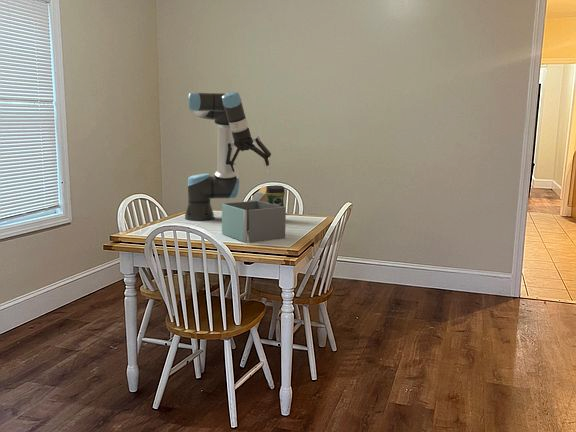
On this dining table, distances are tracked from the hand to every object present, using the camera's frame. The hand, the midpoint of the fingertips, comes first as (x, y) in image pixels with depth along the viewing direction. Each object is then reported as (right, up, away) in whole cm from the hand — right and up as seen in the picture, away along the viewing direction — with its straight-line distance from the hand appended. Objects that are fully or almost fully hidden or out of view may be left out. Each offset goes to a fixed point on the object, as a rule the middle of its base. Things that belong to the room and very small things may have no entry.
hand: (253, 175), depth 242 cm
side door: (-8, -27, +2) cm, 29 cm away
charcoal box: (0, -27, +8) cm, 28 cm away
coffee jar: (+9, -21, +48) cm, 52 cm away
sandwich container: (-3, -17, +68) cm, 71 cm away
